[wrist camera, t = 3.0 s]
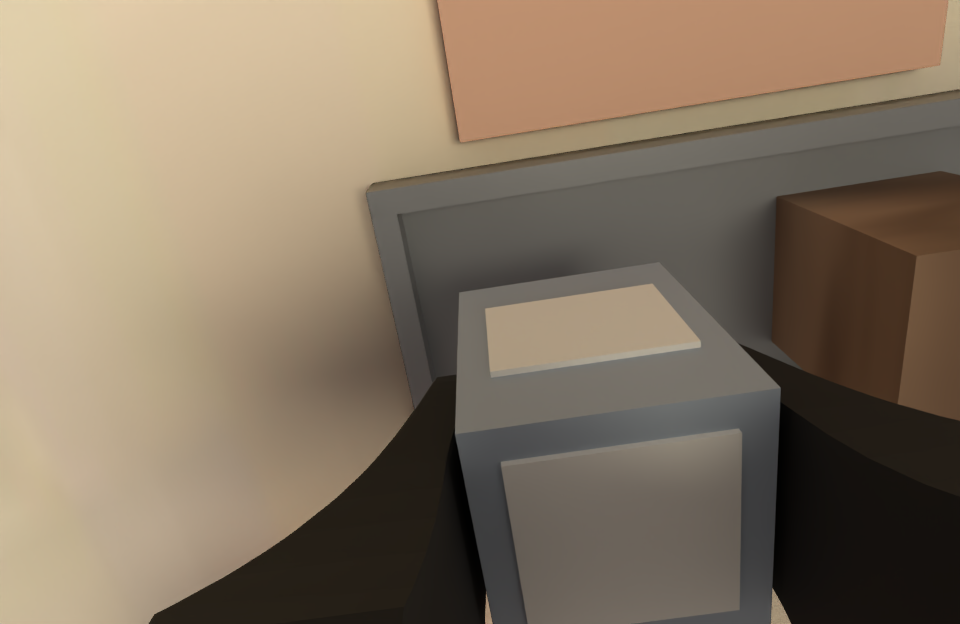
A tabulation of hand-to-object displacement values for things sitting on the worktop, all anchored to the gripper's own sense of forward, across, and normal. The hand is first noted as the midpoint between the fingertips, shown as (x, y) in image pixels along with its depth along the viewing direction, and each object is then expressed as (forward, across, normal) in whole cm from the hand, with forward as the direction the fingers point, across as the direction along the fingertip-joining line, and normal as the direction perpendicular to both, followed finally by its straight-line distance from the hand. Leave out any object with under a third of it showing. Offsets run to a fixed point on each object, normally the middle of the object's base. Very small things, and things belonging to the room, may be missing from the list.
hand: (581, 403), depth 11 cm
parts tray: (+5, -4, 0) cm, 7 cm away
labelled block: (+2, 0, 0) cm, 2 cm away
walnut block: (+5, -8, 0) cm, 9 cm away
